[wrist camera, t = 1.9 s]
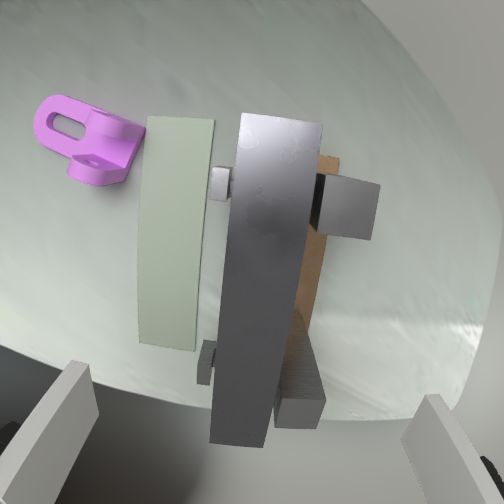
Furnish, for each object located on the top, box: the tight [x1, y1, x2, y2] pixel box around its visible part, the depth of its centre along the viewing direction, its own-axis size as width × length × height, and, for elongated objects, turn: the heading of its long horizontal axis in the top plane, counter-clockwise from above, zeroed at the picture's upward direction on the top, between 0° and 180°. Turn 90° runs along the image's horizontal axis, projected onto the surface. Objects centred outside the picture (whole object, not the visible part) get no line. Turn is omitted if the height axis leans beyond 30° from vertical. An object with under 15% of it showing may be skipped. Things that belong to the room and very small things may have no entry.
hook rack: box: [197, 155, 380, 429], centre depth 25 cm, size 10×20×14 cm, turn 173°
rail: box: [210, 113, 323, 448], centre depth 21 cm, size 4×22×6 cm, turn 173°
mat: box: [138, 116, 215, 352], centre depth 31 cm, size 6×24×1 cm, turn 173°
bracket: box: [34, 95, 146, 186], centre depth 25 cm, size 13×6×7 cm, turn 63°
